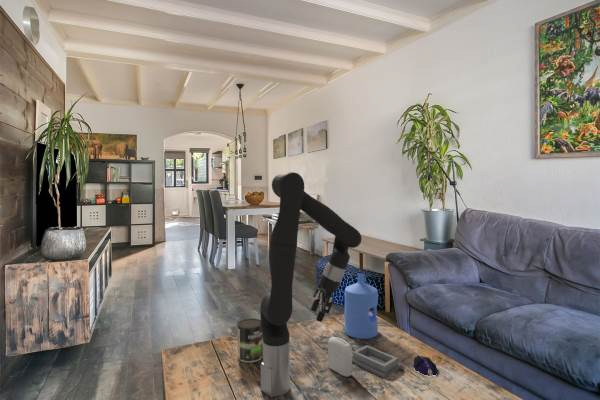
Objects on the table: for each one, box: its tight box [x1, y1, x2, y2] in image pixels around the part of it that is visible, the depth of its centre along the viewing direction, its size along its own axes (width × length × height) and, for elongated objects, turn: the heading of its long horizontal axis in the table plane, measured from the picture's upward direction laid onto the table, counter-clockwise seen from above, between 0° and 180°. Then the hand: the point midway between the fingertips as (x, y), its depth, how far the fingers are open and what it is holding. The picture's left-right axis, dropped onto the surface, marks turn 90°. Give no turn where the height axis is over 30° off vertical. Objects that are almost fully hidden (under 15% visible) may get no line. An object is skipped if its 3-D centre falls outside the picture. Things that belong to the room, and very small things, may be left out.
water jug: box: [343, 273, 379, 340], centre depth 168 cm, size 16×16×28 cm
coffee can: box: [236, 318, 263, 364], centre depth 146 cm, size 10×10×14 cm
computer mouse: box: [412, 355, 438, 376], centre depth 137 cm, size 9×15×4 cm, turn 0°
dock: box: [352, 345, 403, 380], centre depth 140 cm, size 12×17×4 cm
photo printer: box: [327, 336, 353, 377], centre depth 135 cm, size 10×4×12 cm, turn 39°
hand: (315, 315), depth 135 cm, fingers open, 8 cm apart
